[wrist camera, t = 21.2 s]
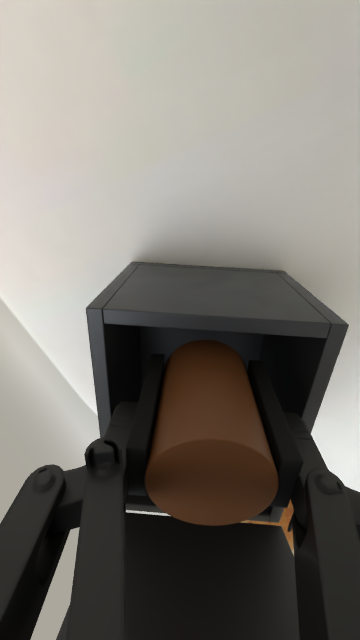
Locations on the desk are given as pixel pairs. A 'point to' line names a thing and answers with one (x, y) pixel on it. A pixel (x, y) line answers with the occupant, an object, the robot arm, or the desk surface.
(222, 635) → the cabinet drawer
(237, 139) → the desk surface
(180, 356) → the brown cylinder
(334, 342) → the dark grey box
